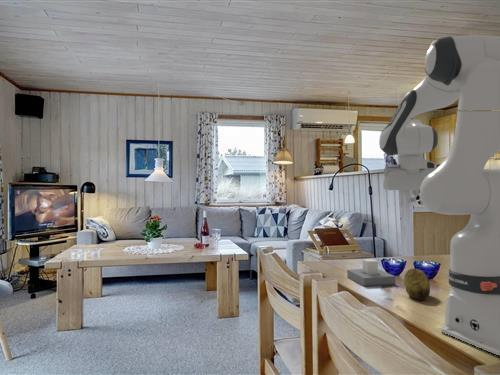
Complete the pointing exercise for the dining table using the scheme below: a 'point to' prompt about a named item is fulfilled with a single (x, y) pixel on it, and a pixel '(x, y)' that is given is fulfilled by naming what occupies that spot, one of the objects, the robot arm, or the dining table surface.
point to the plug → (370, 266)
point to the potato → (417, 284)
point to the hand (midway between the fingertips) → (411, 202)
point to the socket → (371, 278)
